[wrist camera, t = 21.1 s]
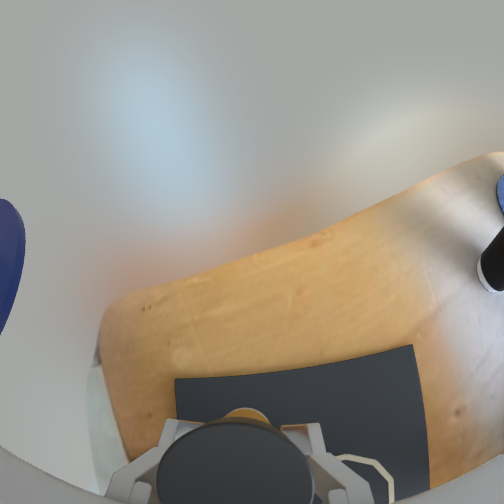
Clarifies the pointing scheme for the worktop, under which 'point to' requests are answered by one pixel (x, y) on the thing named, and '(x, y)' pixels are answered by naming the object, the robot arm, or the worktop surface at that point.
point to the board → (336, 413)
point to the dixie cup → (493, 265)
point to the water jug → (501, 192)
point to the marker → (235, 465)
